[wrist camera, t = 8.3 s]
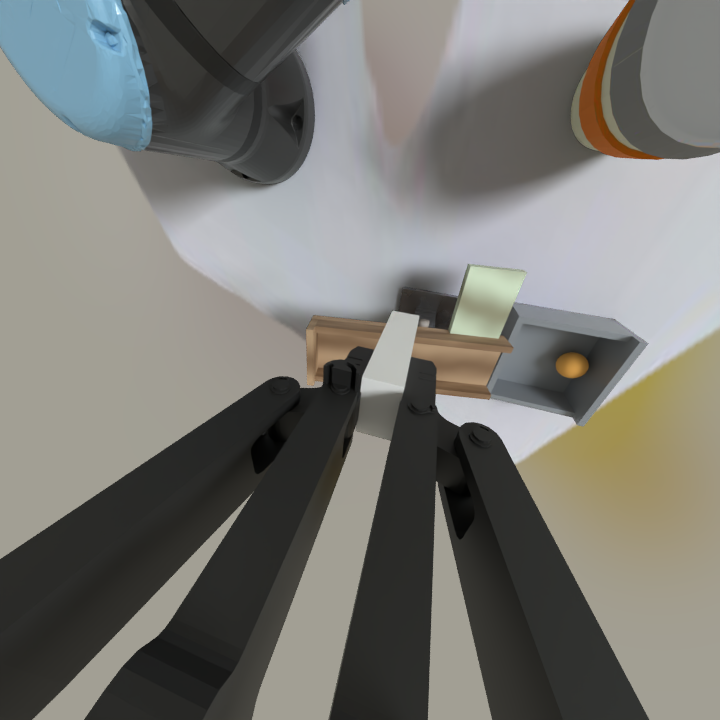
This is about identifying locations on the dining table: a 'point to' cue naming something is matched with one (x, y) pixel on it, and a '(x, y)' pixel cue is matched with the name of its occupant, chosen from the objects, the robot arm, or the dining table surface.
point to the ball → (572, 365)
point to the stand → (428, 306)
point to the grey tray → (546, 344)
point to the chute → (436, 334)
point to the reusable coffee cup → (654, 83)
